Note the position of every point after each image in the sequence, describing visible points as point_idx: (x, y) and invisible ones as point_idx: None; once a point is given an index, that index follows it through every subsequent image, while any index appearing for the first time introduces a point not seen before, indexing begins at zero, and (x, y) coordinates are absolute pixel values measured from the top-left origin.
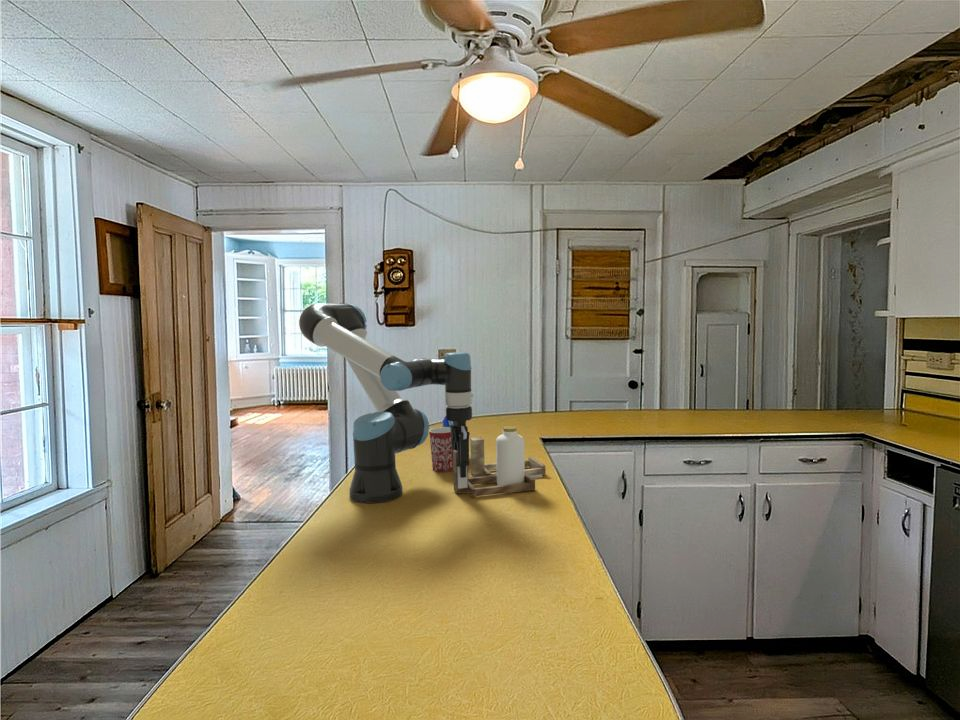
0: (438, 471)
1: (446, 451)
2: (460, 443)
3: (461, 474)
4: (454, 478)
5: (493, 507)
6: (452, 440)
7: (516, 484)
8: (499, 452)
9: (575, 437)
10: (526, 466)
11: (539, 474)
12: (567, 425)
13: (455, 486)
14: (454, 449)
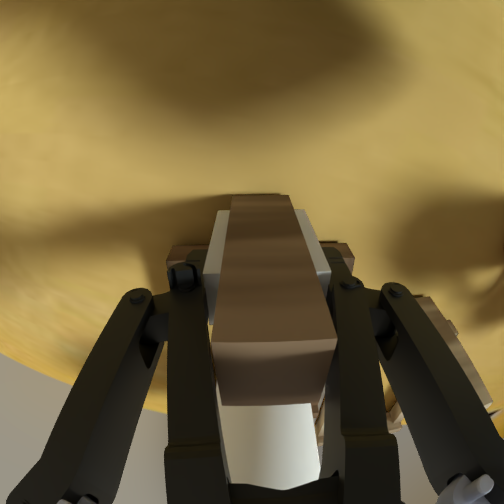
0: None
1: None
2: (56, 435)
3: (186, 261)
4: (278, 218)
5: (78, 279)
6: (439, 394)
7: None
8: (243, 459)
9: None
10: (392, 409)
11: (314, 423)
12: (499, 427)
13: (257, 204)
14: (338, 350)
